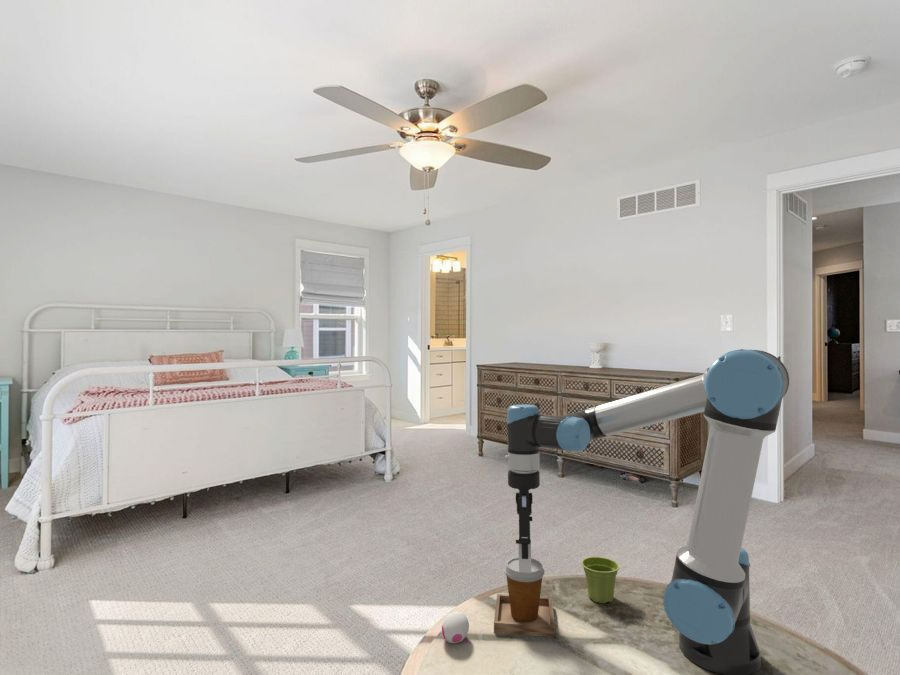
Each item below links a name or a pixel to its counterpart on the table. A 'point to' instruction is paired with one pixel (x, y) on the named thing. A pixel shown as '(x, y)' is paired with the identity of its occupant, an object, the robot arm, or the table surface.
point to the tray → (535, 628)
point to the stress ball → (455, 627)
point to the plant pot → (600, 578)
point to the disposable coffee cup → (524, 589)
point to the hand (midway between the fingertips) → (525, 559)
